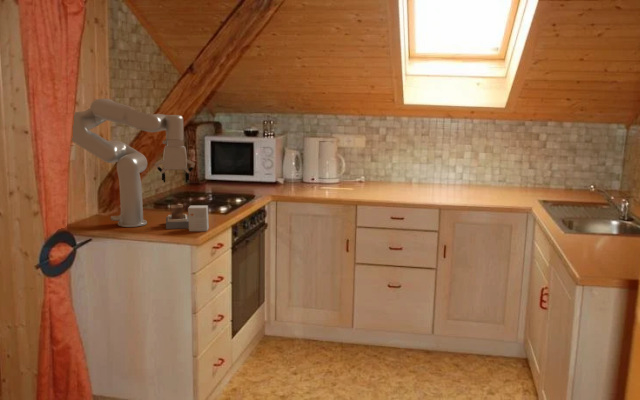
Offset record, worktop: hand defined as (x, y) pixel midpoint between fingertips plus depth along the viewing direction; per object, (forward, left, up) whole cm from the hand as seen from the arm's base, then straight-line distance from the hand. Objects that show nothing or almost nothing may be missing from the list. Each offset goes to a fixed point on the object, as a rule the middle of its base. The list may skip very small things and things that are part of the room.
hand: (175, 181), depth 272 cm
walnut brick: (0, -1, -17) cm, 17 cm away
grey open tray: (0, 0, -20) cm, 20 cm away
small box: (+9, -10, -20) cm, 24 cm away
